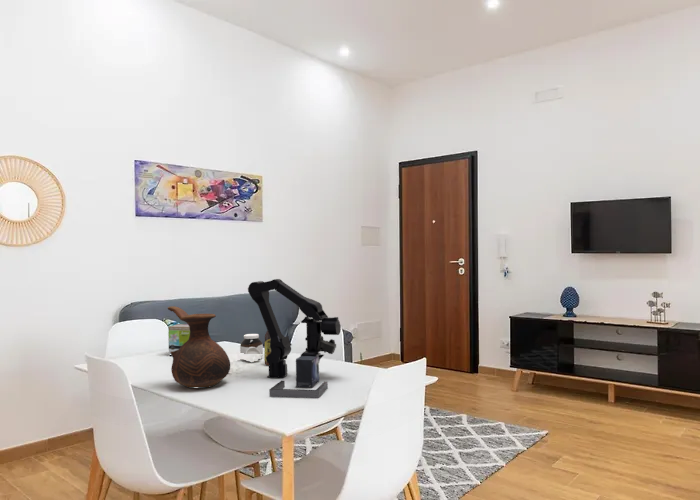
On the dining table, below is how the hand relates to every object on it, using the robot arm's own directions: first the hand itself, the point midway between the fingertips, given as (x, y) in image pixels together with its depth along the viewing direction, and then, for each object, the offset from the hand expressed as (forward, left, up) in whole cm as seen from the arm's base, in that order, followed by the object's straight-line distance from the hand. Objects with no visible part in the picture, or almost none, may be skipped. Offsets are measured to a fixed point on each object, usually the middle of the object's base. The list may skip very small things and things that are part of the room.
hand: (314, 374), depth 215 cm
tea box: (-77, +44, -2) cm, 89 cm away
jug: (-41, -14, -2) cm, 43 cm away
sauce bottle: (-26, +24, -2) cm, 35 cm away
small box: (0, -10, -2) cm, 10 cm away
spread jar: (-38, +32, -2) cm, 50 cm away
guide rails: (0, -21, -2) cm, 21 cm away
